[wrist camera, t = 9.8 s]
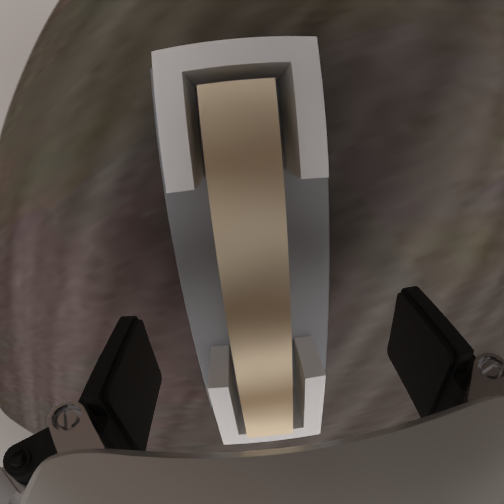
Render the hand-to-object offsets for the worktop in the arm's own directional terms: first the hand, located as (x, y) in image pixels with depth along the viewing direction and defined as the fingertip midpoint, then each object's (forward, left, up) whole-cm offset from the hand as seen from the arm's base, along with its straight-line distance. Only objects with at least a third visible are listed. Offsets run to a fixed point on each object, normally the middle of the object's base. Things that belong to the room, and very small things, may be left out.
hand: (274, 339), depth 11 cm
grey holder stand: (+1, 0, -9) cm, 9 cm away
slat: (+1, 0, -8) cm, 8 cm away
